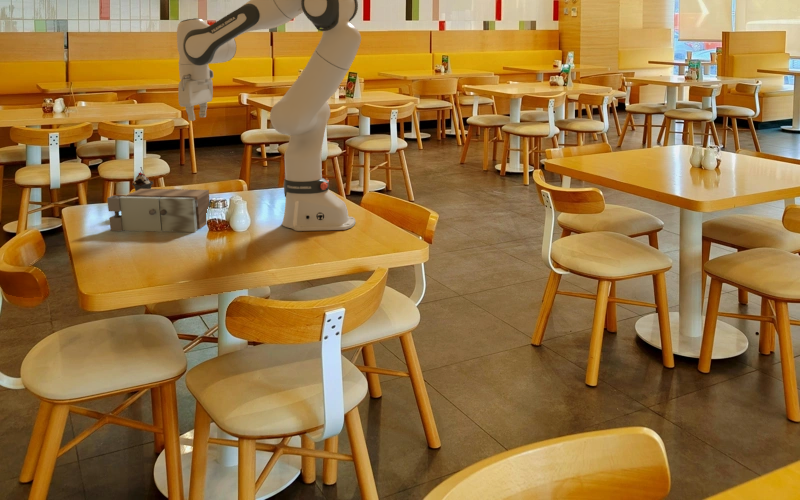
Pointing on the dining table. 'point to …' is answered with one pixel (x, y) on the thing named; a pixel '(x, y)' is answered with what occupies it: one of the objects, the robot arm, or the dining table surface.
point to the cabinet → (178, 208)
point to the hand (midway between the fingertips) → (197, 118)
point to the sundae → (142, 182)
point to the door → (135, 213)
